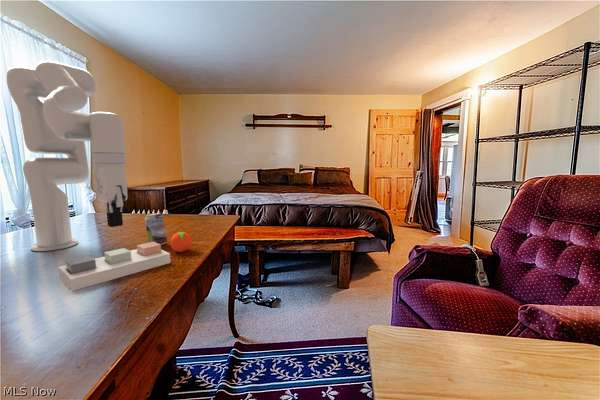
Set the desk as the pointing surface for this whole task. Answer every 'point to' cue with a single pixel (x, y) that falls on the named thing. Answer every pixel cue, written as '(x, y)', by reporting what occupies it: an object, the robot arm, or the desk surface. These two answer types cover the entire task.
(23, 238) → the desk surface
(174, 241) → the clementine
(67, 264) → the charcoal button
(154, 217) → the beverage can
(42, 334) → the desk surface
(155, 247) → the terracotta button
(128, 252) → the sage button
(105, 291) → the desk surface
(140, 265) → the panel
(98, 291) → the desk surface
